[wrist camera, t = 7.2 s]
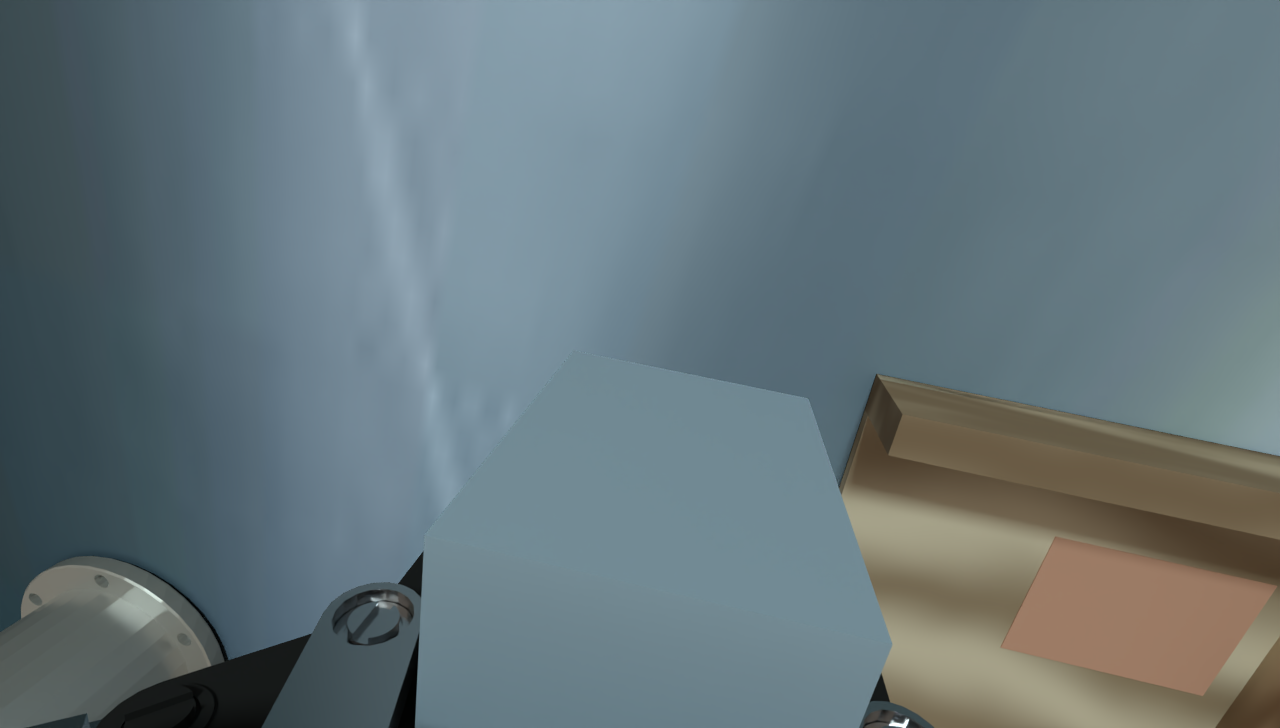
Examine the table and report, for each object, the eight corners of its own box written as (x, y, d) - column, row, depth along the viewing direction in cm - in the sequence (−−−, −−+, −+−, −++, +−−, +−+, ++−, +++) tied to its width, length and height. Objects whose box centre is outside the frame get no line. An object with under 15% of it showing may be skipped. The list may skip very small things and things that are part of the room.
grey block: (727, 679, 13) (727, 1052, 8) (535, 632, 14) (403, 958, 8) (808, 398, 11) (893, 644, 5) (574, 350, 11) (424, 535, 6)
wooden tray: (1165, 831, 29) (1228, 930, 25) (760, 726, 31) (763, 804, 27) (1418, 484, 22) (1555, 551, 18) (876, 373, 24) (902, 414, 20)
